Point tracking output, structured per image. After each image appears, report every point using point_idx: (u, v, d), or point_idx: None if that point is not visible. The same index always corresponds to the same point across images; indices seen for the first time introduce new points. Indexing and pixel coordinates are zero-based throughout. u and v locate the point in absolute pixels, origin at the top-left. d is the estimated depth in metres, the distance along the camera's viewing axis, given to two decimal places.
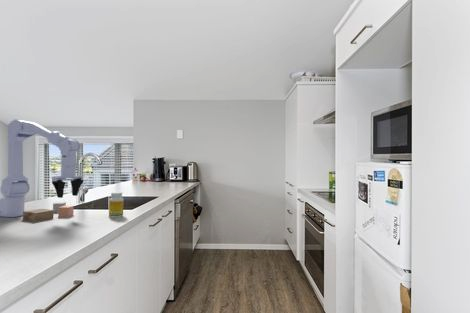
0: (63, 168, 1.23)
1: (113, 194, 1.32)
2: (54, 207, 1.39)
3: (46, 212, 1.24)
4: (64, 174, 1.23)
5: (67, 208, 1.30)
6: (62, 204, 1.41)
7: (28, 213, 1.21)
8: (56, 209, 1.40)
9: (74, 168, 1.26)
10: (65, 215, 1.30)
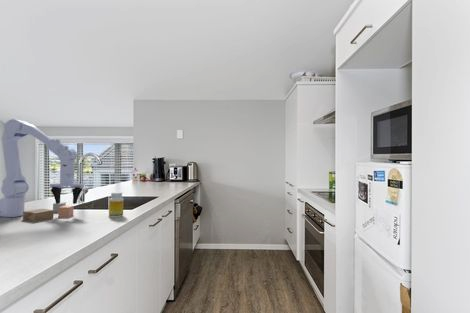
0: None
1: (113, 194, 1.32)
2: (54, 207, 1.39)
3: (46, 212, 1.24)
4: None
5: (67, 208, 1.30)
6: (62, 204, 1.41)
7: (28, 213, 1.21)
8: (56, 209, 1.40)
9: (65, 177, 1.30)
10: (65, 215, 1.30)
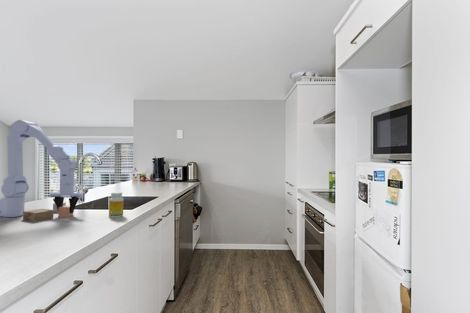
0: None
1: (113, 194, 1.32)
2: (54, 207, 1.39)
3: (46, 212, 1.24)
4: None
5: (67, 208, 1.30)
6: None
7: (28, 213, 1.21)
8: (56, 209, 1.40)
9: (65, 186, 1.30)
10: (65, 215, 1.30)
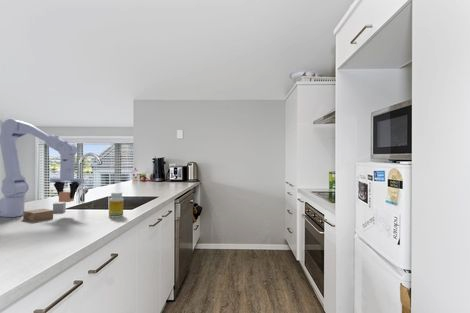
0: None
1: (113, 194, 1.32)
2: (54, 207, 1.39)
3: (45, 212, 1.23)
4: None
5: (67, 193, 1.30)
6: (62, 204, 1.41)
7: (28, 213, 1.21)
8: (55, 209, 1.40)
9: (65, 171, 1.30)
10: (65, 200, 1.30)
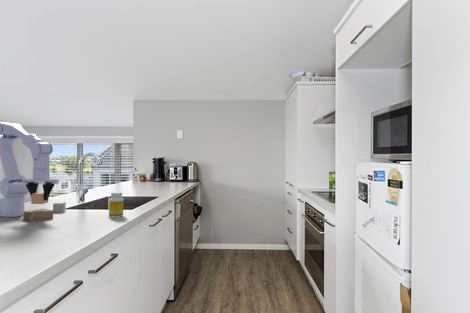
0: None
1: (113, 194, 1.32)
2: (54, 207, 1.39)
3: (45, 212, 1.23)
4: None
5: (41, 194, 1.23)
6: (62, 204, 1.41)
7: (27, 213, 1.21)
8: (55, 209, 1.40)
9: (38, 171, 1.22)
10: (38, 202, 1.23)
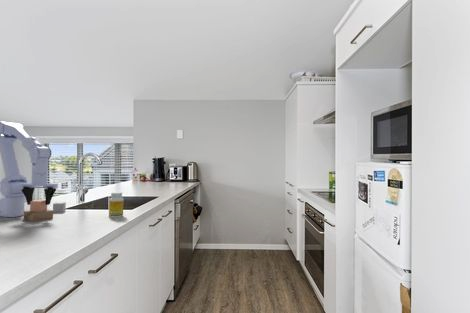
0: None
1: (113, 194, 1.32)
2: (54, 207, 1.39)
3: (45, 212, 1.23)
4: None
5: (40, 202, 1.23)
6: (62, 204, 1.41)
7: (27, 213, 1.21)
8: (56, 209, 1.40)
9: (37, 176, 1.22)
10: (37, 209, 1.22)
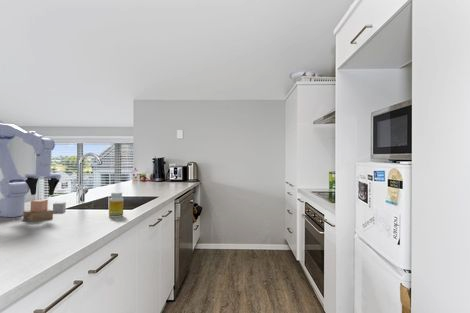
0: None
1: (113, 194, 1.32)
2: (54, 207, 1.39)
3: (45, 212, 1.23)
4: None
5: (40, 202, 1.23)
6: (62, 204, 1.41)
7: (27, 213, 1.21)
8: (56, 209, 1.40)
9: (40, 167, 1.24)
10: (38, 209, 1.22)
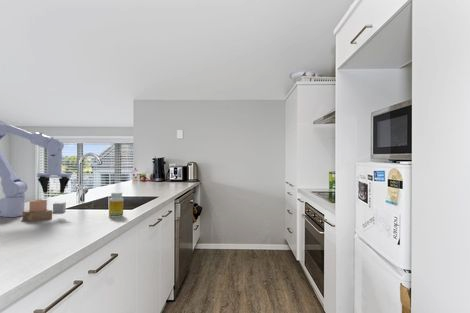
0: None
1: (113, 194, 1.32)
2: (54, 207, 1.39)
3: (44, 212, 1.23)
4: None
5: (39, 202, 1.22)
6: (62, 204, 1.41)
7: (26, 213, 1.21)
8: (55, 209, 1.40)
9: (52, 166, 1.32)
10: (36, 209, 1.22)
